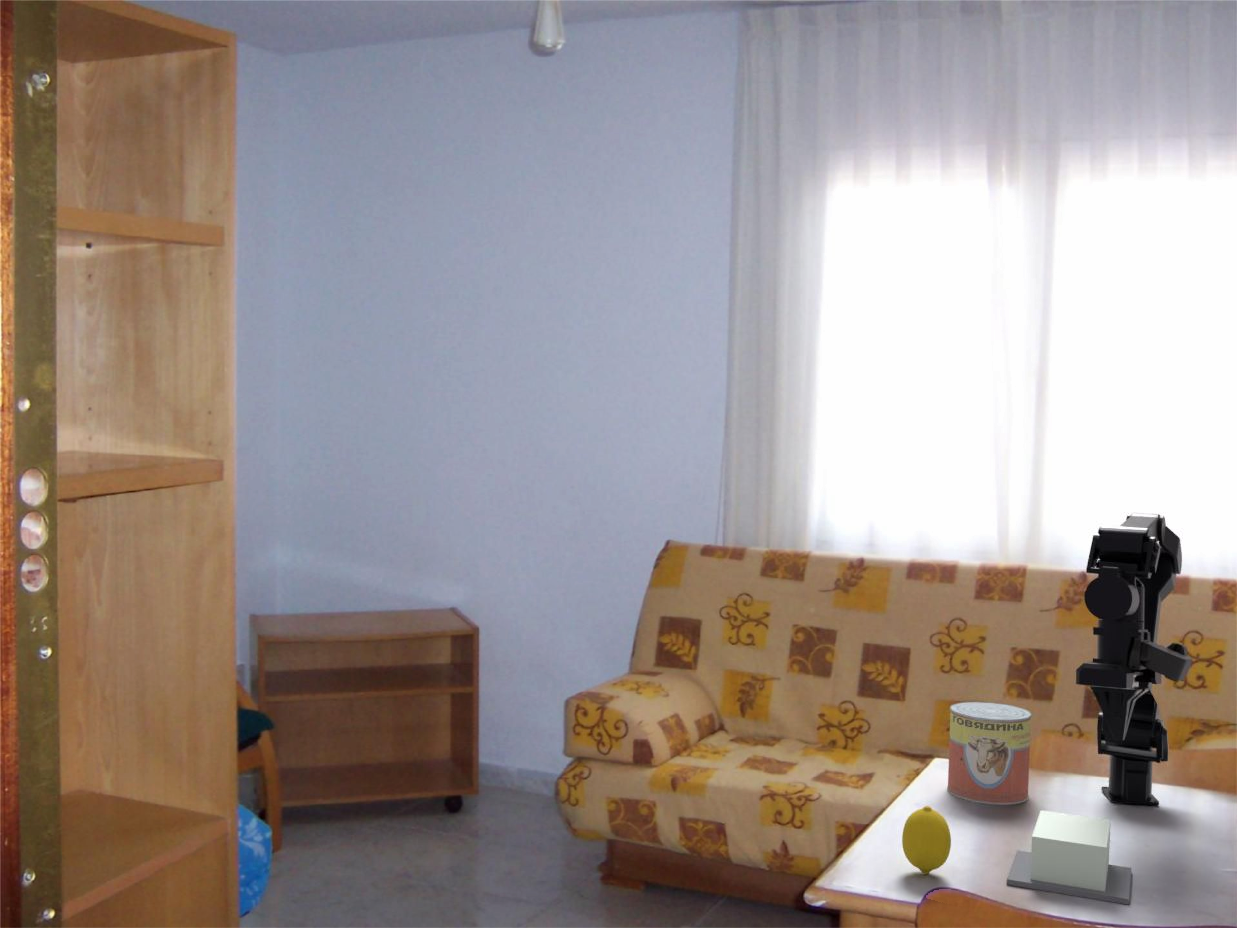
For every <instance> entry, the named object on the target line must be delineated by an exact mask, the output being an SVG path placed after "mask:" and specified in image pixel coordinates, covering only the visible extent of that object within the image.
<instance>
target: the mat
mask: <svg viewBox="0 0 1237 928" xmlns="http://www.w3.org/2000/svg"><path fill="white" fill-rule="evenodd" d="M1030 876H1031V851H1025V850H1018V849H1017V850H1016V853H1015V855H1014V858H1013V860H1012V864H1011V867H1010V870H1009V872H1008V875H1007V878H1006V885H1008V886H1013V887H1014V886H1015V887H1020V888H1025V889H1026V888H1027V889H1032V890H1039V891H1045V892H1051V893H1056V894H1057V893H1058V894H1064V895H1070V896H1075V897H1080V898H1081V897H1082V898H1086V899H1087V898H1088V899H1094V900H1100V901H1103V902H1104V901H1106V902H1109V903H1111V902H1112V903H1118V904H1123V905H1124V904H1125V905H1130V895H1131V881H1132V867H1127V866H1124V865H1123V866H1121V865H1115V864H1109V865H1108V873H1107V880H1106V888H1105V891H1099V890H1092V889H1086V888H1080V887H1074V886H1068V885H1062V884H1056V883H1049V882H1043V881H1037V880H1031V879H1030Z"/></svg>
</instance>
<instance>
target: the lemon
mask: <svg viewBox="0 0 1237 928" xmlns="http://www.w3.org/2000/svg"><path fill="white" fill-rule="evenodd" d="M902 830H903V831H902V837H901V839H902V841H901V843H902V849H903V853H904V855H905V858H906V859H907V861H908V862H909V863H910V864H911V866H913V867H915V868H916V869H918V870H919V871H920V872H921V873H922V875H929V874H930V873H931V872H932V871H934V870H937V869H940V868H941V867H942V866H943V865H944V864H945V863H946V862H947V861H948V858H949V856H950V852H951V847H952V837H951V831H950V828H949V824H948V822H947V820H946V819H945V817H944V816H943V815H942V814H940V812H938V811H937V810H935V809H932V807H931V806H929V805H928V806H927V805H926V806H924V807H923V808H920V809H917V810H914V811H913V812H912V813H911V814H910V815H909V816H908V817H907V819H906V820H905V823H904V826H903V829H902Z"/></svg>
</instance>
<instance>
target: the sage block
mask: <svg viewBox="0 0 1237 928" xmlns="http://www.w3.org/2000/svg"><path fill="white" fill-rule="evenodd" d="M1111 824H1112V823H1111V819H1106V818H1105V819H1104V818H1098V817H1090V816H1084V815H1079V814H1078V815H1077V814H1069V813H1062V812H1056V811H1050V810H1040V811H1039V815H1038V817H1037V820H1036V823H1035V827H1034V829H1033V831H1032V835H1031V851H1030V852H1031V876H1030V879H1031V880H1037V881H1043V882H1049V883H1056V884H1062V885H1068V886H1074V887H1080V888H1086V889H1092V890H1099V891H1105V888H1106V880H1107V873H1108V865H1109V863H1110V845H1111V844H1110V843H1111V842H1110V841H1111Z"/></svg>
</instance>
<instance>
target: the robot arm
mask: <svg viewBox="0 0 1237 928" xmlns="http://www.w3.org/2000/svg"><path fill="white" fill-rule="evenodd" d="M1090 544H1091V545H1090V548H1089V554H1088V559H1087V564H1086V567H1085V568H1086V569H1085V570H1086V571H1085V573H1086V574H1091V575H1092V574H1093V575H1097V577H1096V578H1094V579H1092V580H1091V581H1090V582H1089V584H1088V585H1087V586H1086V589H1085V591H1084V594H1083V595H1084V596H1083V597H1084V598H1083V599H1084V604H1085V607H1086V609H1087V610H1088V611H1089V612H1090V613H1091V614H1092V615H1093V617H1096V618H1097V626H1093V628H1092V635H1094V636H1097V642H1096V643H1097V644H1096V646H1097V648H1096V649H1097V653H1096V657H1093V658H1092V662H1083V663H1082V664H1081V665H1079V667H1077V668H1076V671H1075V684H1076V685H1078V686H1079V685H1081V686H1089V689H1090V690H1091V691H1092V693H1093V696H1094V697H1095V699H1096V702H1097V704H1098V706H1099V708H1100V710H1101V711H1099V713H1098V717H1097V723H1096V724H1097V725H1096V731H1097V733H1096V735H1097V737H1096V738H1097V754H1098V755H1106V756H1109V765H1108V766H1109V769H1108V771H1109V772H1108V774H1109V775H1108V786H1101V789H1100V790H1101V791H1102V793H1103V794H1104V795H1105V796H1106V798H1107V799H1108V800H1109V801H1110V802H1111V803H1117V804H1132V805H1134V804H1135V805H1148V806H1159V805H1160V800H1158V799H1157V798H1156V797H1155V795H1153V794H1152V791H1153V790H1152V788H1153V787H1152V786H1153V765H1154V764H1153V763H1156V764H1161V763H1162V762H1169V750H1170V749H1169V735H1168V730H1167V729H1166V728H1165V723H1164V719H1161V713H1160V709H1159V706H1158V703H1157V700H1156V699H1155V697H1154V695H1153V693H1152V688H1153V685H1161V684H1162V676H1163V677H1164V678H1165V679H1167V680H1169V681H1173V682H1174V683H1179V682H1180V681H1181V682H1184V681H1185V679H1186V676H1187V674H1188V671H1189V670H1190V669H1191V668H1192V662H1193V657H1192V656H1189V655H1188V647H1187V646H1185V645H1184V644H1181V643H1178V642H1172V643H1170V644H1169V645H1168V646H1167V647H1166V646H1164V645H1163V644H1161V645H1160V644H1158V643H1157V641H1158V634H1159V633H1158V632H1159V624H1160V616H1161V607H1162V602H1163V601H1164V600H1165V599H1166V598H1167V597H1168V596H1169V595H1170V594H1171V593H1172V591H1174V589H1175V587H1176V581H1177V580H1176V579H1177V575H1181V572H1182V566H1183V565H1182V563H1183V553H1182V551H1183V550H1182V544H1181V538H1180V537H1179V535H1177V534H1176V533H1175V532H1174V531H1173V530H1171V528H1169V527H1168V526H1167V525H1166V518H1165V516H1164V515H1161V514H1159V513H1157V514H1156V513H1146V512H1145V513H1144V512H1142V513H1141V512H1132V513H1131V514H1129V513H1128V514H1127V515H1126V519H1125V521H1124V522H1123V523H1121V525H1106V524H1105V525H1104V524H1101V525H1100V526H1099V528H1098V530H1097V532H1094V533H1093V535H1092V540H1091V543H1090ZM1152 684H1153V685H1152ZM1153 749H1155V750H1153Z"/></svg>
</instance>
